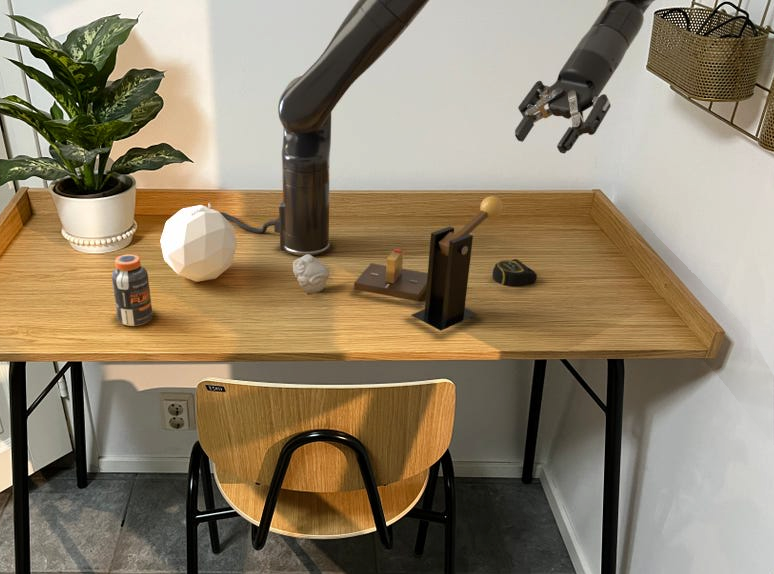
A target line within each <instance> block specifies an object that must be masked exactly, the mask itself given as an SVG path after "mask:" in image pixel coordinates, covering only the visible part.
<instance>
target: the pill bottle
mask: <svg viewBox="0 0 774 574" xmlns="http://www.w3.org/2000/svg"><path fill="white" fill-rule="evenodd" d="M114 261H115V269H114V270H113V272H112V274H111V281H112V287H113V294H114V302H115V307H116V313H117V314H116V315H117V320H118V322H119V323H120V324H122V325H124V326H129V327H135V326H136V327H137V326H141V325H144V324H146V323H148V322H150V321H151V320H152V319H153V317H154V314H153V307H152V297H151V289H150V281H149V274H148V271H147V269H146V268H145V267H144V266H142V264H141V257H140V256H138V255H136V254H123V255H119V256H117V257H116V258H115V260H114Z"/></svg>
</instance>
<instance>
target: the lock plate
mask: <svg viewBox="0 0 774 574" xmlns="http://www.w3.org/2000/svg"><path fill="white" fill-rule="evenodd" d="M427 276H428V272H424V271H419V270H413V269H407V268H402V274H401V275H400V277H399V278H398V279H397V280H396V282H395V283H394V284H393V283H388V282H386V265H385V264H378V263H372V262H371V263H370V264H369V265H368V266H367V267H366V268H365V270H364V271H363V272H362V273H361V274H360V276H358V277H357V279H356V280H355V281H354V283H353V290H355V291H360V292H361V291H362V292H367V293H372V294H377V295H382V296H386V297H387V296H389V297H393V298H399V299H404V300H409V301H415V302H419V301H420V300H421V298H422V296H423V295H424V294H425V293H426V288H427Z"/></svg>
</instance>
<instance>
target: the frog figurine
mask: <svg viewBox="0 0 774 574" xmlns="http://www.w3.org/2000/svg"><path fill="white" fill-rule="evenodd" d="M292 271H293V274H294V276H295V278H297V279H296V280H297V281H298V283H299V287H300V288H301V290H303V292H305V293H307V294H309V295H314V294H318V293H320V292H323V290H324V289H325V288H326V286H327V281H328V279H329V278H330V269H329V268H328V267H327V266H326V265H325V264H324V263H323V262H322V261H320V260H319V259H317V258H316V257H314V256H311V255H310V254H307V255H304V256H300V257H298V258H297V259H295V260H293V261H292Z"/></svg>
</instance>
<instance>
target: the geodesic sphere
mask: <svg viewBox="0 0 774 574" xmlns="http://www.w3.org/2000/svg"><path fill="white" fill-rule="evenodd" d="M211 207H212V206H211V204H208V207H207V206H206V205H203V204H199V205H194V206H188V207H184V208H181V209H180V210H178V211H177V212H176V213H175V214H173V215H172V216H171V217H170V218H169V219H167V221H166V222H165V224H164V226H163V227H164V228H163V231H162V234H161V237H160V240H159V241H160V246H161V251H162V257H163V260H164V261H165V263H166V264H167V265H168V266H169V267H170V268H171V269H172V270H173V271H174V272H175V273H176V274H177V276H180V277H183V278H185V279H189V280H191V281H192V282H193V281H194V282H196V283H198V282H199V283H200V282H203V281H210V280H215V279H217V278H218V277H219V276H220V275H222V274H223V273H224V272H226V271H227V270H228V269H229V268H230V267H231V266H232V263H233V261H234V260H233V259H234V257H235V253H236V250H237V240H236V235H235V234H236V233H235V227H234V226H233V225H232V224H231V223H230V221H229V220H228V219H226V218H225V217H224V216H223V215H222V214H221V213H220V212H221V211H218V210H216V209H213V208H211Z"/></svg>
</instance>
